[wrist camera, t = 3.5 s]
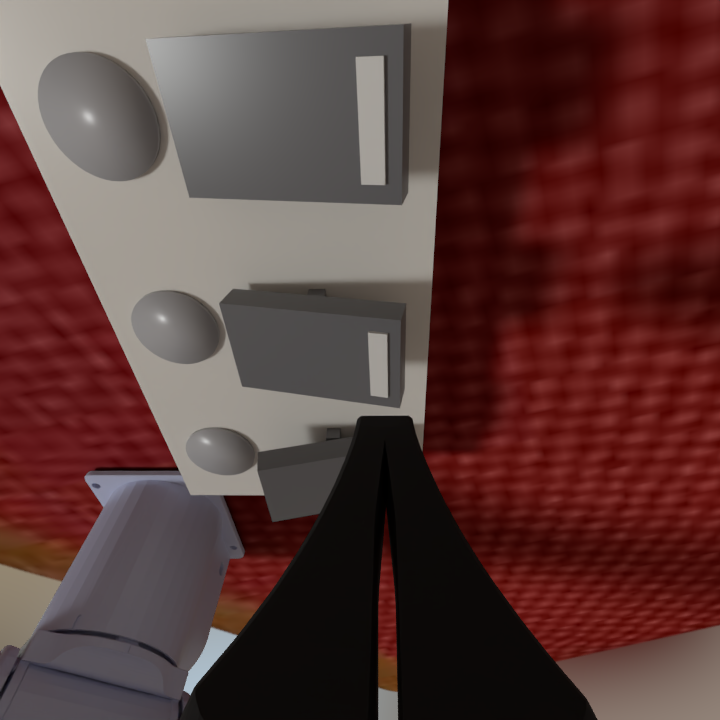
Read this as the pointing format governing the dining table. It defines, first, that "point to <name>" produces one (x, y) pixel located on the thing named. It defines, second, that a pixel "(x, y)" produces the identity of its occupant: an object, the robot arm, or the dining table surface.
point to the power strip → (215, 217)
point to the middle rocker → (318, 345)
